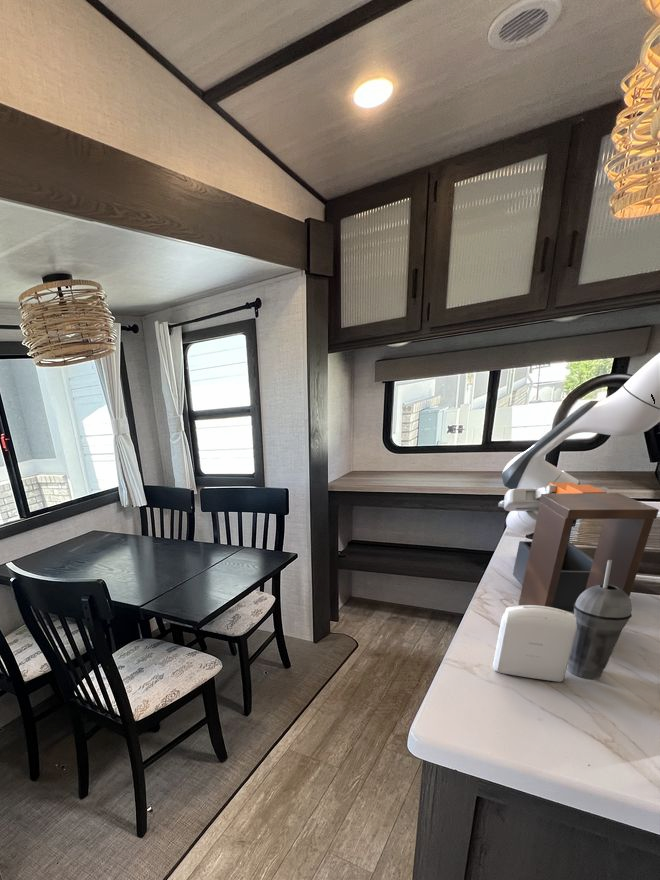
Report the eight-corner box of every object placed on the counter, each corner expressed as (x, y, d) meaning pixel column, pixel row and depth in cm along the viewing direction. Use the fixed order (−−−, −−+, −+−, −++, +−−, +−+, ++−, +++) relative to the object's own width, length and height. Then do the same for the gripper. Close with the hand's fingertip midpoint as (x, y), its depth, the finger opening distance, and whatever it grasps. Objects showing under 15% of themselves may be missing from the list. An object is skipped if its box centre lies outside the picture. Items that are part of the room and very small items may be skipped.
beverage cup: (623, 680, 76) (662, 563, 68) (584, 686, 75) (619, 569, 67) (583, 657, 82) (614, 549, 74) (546, 663, 81) (574, 555, 74)
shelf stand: (581, 621, 94) (617, 492, 84) (613, 654, 83) (659, 509, 72) (514, 618, 98) (541, 493, 87) (535, 648, 86) (569, 509, 76)
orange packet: (547, 489, 108) (550, 477, 107) (570, 489, 107) (573, 477, 106) (579, 507, 92) (583, 493, 91) (606, 507, 91) (610, 493, 90)
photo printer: (492, 673, 80) (505, 608, 75) (491, 661, 83) (503, 598, 78) (565, 685, 75) (585, 617, 70) (561, 672, 79) (579, 606, 74)
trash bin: (561, 575, 116) (569, 541, 113) (601, 612, 97) (612, 573, 94) (512, 574, 119) (519, 541, 116) (542, 609, 100) (551, 571, 97)
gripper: (495, 494, 119) (515, 475, 106) (590, 493, 114) (623, 473, 100) (495, 519, 119) (514, 502, 105) (590, 519, 113) (623, 501, 100)
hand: (568, 488), depth 103 cm, fingers closed on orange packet, 4 cm apart
